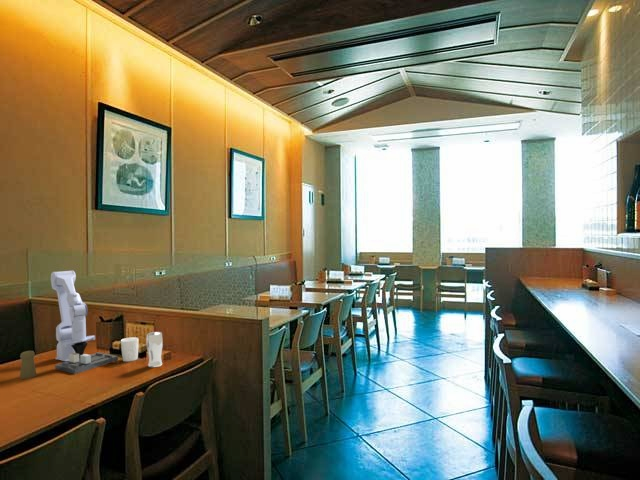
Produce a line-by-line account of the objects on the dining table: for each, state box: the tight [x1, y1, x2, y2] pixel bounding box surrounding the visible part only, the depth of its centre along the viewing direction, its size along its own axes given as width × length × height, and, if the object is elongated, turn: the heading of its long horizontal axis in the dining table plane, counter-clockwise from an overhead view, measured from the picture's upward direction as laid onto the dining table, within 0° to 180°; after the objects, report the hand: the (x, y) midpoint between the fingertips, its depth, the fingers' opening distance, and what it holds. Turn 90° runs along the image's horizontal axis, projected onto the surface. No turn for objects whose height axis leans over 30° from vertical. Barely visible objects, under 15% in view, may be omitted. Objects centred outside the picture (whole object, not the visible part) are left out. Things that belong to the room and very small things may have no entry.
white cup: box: [120, 336, 139, 362], centre depth 197 cm, size 8×8×10 cm
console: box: [54, 351, 119, 375], centre depth 190 cm, size 15×21×3 cm
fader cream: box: [69, 353, 79, 363], centre depth 188 cm, size 4×2×4 cm, turn 62°
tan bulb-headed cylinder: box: [19, 350, 37, 380], centre depth 176 cm, size 6×6×11 cm
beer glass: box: [146, 331, 164, 368], centre depth 187 cm, size 7×7×15 cm
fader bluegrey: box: [80, 353, 91, 364], centre depth 186 cm, size 4×2×4 cm, turn 62°
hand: (79, 358), depth 190 cm, fingers closed
